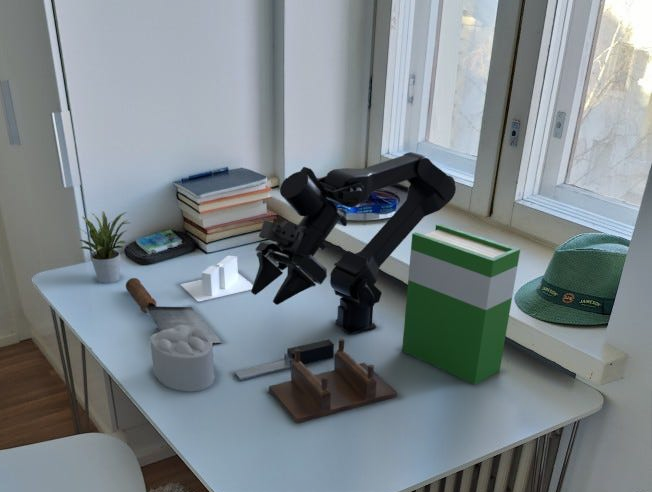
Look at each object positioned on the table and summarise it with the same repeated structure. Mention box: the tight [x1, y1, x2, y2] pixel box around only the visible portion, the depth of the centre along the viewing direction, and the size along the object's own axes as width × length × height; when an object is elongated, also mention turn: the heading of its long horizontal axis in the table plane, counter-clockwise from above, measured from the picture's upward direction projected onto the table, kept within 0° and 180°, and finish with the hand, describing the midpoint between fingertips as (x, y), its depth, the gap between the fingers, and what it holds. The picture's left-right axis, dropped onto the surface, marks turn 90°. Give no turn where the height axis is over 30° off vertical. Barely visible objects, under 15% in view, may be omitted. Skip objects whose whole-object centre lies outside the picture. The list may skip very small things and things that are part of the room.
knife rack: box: [268, 338, 398, 424], centre depth 139 cm, size 20×12×8 cm, turn 112°
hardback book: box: [401, 223, 521, 385], centre depth 143 cm, size 18×7×24 cm, turn 38°
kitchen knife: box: [234, 338, 335, 381], centre depth 149 cm, size 20×3×3 cm, turn 112°
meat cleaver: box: [125, 277, 223, 344], centre depth 169 cm, size 34×11×4 cm, turn 23°
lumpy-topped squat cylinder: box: [149, 325, 215, 392], centre depth 146 cm, size 10×13×9 cm
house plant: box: [74, 211, 130, 284], centre depth 184 cm, size 14×14×16 cm
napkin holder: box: [180, 255, 253, 302], centre depth 181 cm, size 15×11×6 cm
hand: (263, 298), depth 145 cm, fingers open, 9 cm apart
